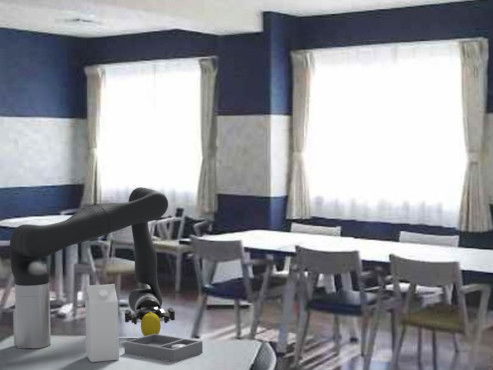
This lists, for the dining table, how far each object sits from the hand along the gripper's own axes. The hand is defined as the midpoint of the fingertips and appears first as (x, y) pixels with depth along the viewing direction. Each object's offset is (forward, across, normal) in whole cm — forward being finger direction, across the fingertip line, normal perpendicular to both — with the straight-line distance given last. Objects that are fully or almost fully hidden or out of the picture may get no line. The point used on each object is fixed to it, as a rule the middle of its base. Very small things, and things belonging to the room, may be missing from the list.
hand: (150, 320), depth 232 cm
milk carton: (+16, -13, +6) cm, 22 cm away
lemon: (-2, 0, +6) cm, 6 cm away
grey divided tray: (+14, +2, +6) cm, 16 cm away
